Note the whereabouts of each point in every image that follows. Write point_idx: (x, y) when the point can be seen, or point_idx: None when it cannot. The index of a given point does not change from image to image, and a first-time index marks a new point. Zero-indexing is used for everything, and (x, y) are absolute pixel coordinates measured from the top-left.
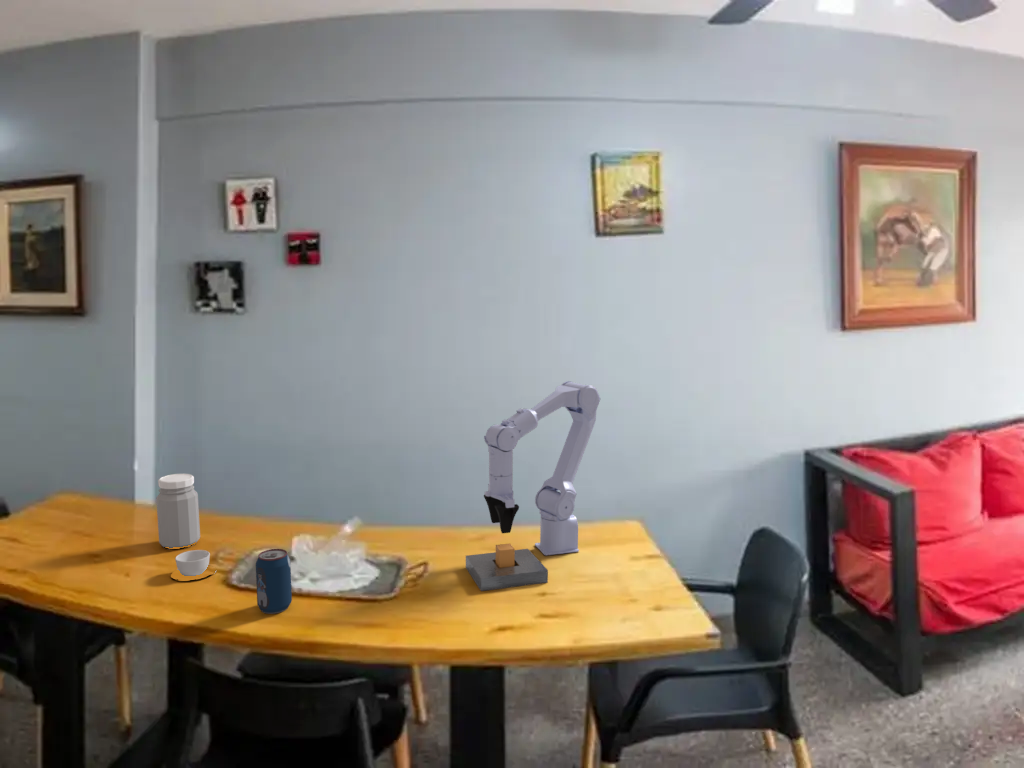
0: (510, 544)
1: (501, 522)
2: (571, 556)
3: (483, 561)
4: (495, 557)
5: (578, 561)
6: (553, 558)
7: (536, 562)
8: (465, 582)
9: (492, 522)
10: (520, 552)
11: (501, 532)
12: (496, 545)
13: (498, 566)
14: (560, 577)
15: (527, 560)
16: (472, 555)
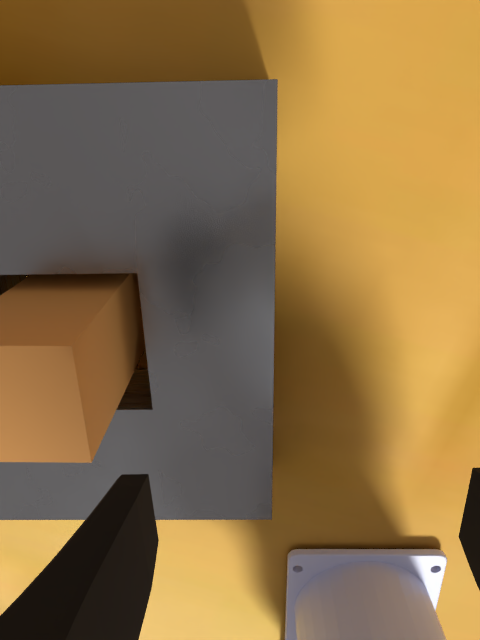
0: (64, 459)
1: (28, 590)
2: (251, 625)
3: (119, 201)
4: (178, 307)
5: (190, 629)
6: (252, 566)
7: (50, 501)
8: (10, 17)
9: (478, 472)
10: (224, 470)
11: (148, 474)
12: (55, 349)
13: (44, 287)
14: (31, 529)
15: (88, 469)
16: (264, 143)
